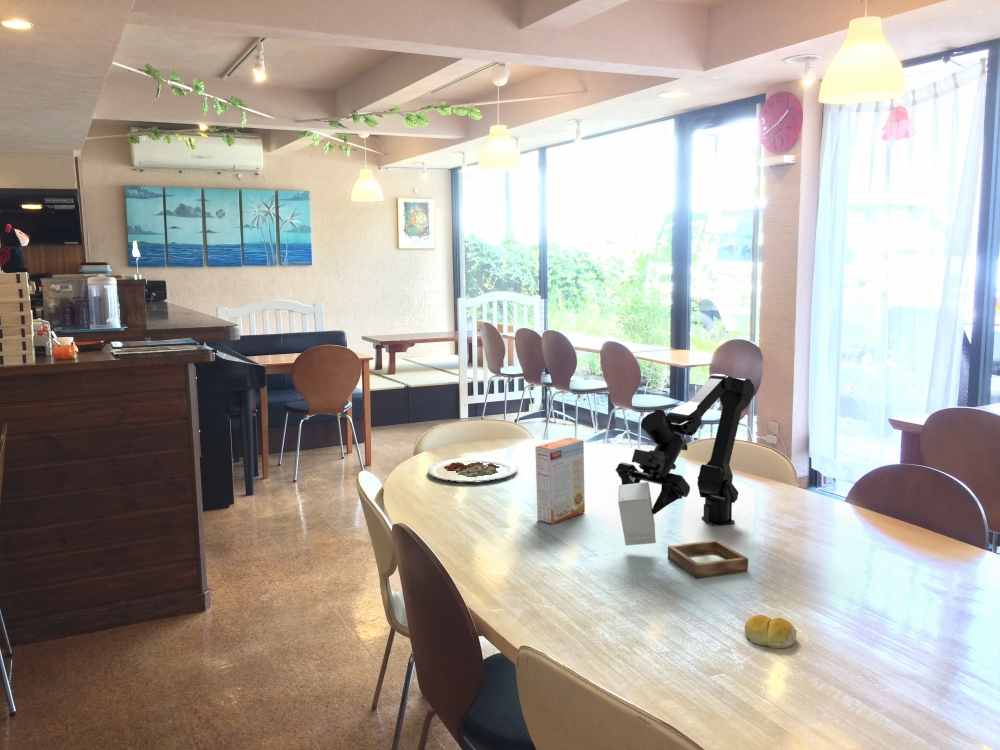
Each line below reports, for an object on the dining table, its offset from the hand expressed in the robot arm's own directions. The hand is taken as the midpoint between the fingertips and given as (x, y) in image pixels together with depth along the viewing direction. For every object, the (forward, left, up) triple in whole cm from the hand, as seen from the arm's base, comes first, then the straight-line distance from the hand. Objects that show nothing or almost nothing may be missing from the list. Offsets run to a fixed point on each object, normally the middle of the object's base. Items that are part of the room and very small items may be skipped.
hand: (636, 508), depth 190 cm
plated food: (+18, -86, -12) cm, 88 cm away
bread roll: (-4, +47, -12) cm, 48 cm away
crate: (-12, +11, -11) cm, 20 cm away
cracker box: (+7, -33, -11) cm, 35 cm away
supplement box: (-2, -1, -7) cm, 7 cm away
